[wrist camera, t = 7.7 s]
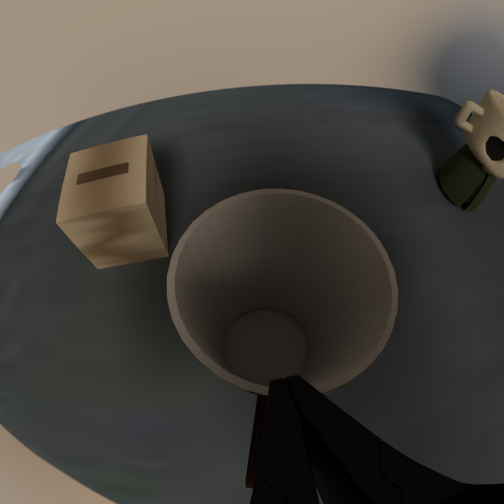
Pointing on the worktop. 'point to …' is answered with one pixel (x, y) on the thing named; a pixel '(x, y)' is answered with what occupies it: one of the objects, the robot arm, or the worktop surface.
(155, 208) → the numbered maple block
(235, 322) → the coffee mug
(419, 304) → the worktop surface
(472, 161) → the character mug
